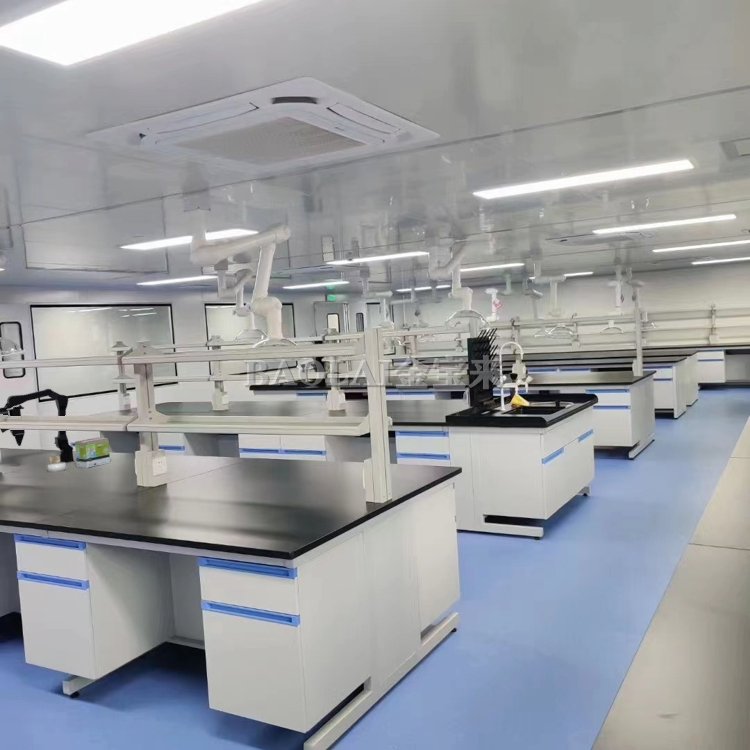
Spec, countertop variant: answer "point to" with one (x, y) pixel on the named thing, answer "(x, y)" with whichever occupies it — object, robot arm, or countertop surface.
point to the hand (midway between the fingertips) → (18, 445)
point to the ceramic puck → (56, 467)
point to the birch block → (54, 459)
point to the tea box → (92, 452)
